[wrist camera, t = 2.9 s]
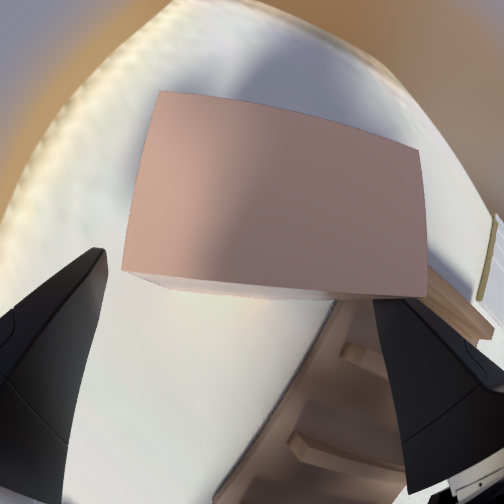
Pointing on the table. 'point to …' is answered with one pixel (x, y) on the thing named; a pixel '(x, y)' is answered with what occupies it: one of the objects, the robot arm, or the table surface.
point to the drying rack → (340, 415)
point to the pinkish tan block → (274, 205)
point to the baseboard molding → (494, 274)
